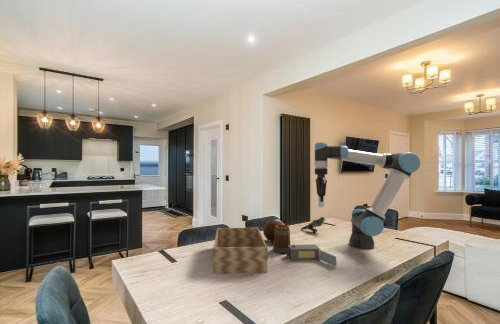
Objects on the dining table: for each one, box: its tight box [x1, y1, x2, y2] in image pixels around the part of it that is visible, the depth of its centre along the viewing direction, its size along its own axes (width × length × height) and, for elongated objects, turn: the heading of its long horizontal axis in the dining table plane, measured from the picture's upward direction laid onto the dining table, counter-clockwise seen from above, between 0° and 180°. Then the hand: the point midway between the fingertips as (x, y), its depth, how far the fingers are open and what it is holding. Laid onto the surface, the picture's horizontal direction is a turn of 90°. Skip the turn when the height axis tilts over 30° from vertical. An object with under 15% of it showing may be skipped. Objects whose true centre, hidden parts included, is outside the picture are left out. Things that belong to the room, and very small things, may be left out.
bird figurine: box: [300, 216, 326, 234], centre depth 202 cm, size 13×10×20 cm
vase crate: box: [212, 227, 268, 275], centre depth 144 cm, size 26×40×12 cm, turn 5°
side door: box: [317, 248, 337, 267], centre depth 137 cm, size 12×1×6 cm, turn 29°
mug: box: [272, 223, 291, 255], centre depth 159 cm, size 16×11×15 cm
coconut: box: [262, 218, 284, 243], centre depth 176 cm, size 15×15×15 cm
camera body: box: [286, 243, 321, 262], centre depth 146 cm, size 17×8×7 cm, turn 95°
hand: (321, 206), depth 159 cm, fingers closed
